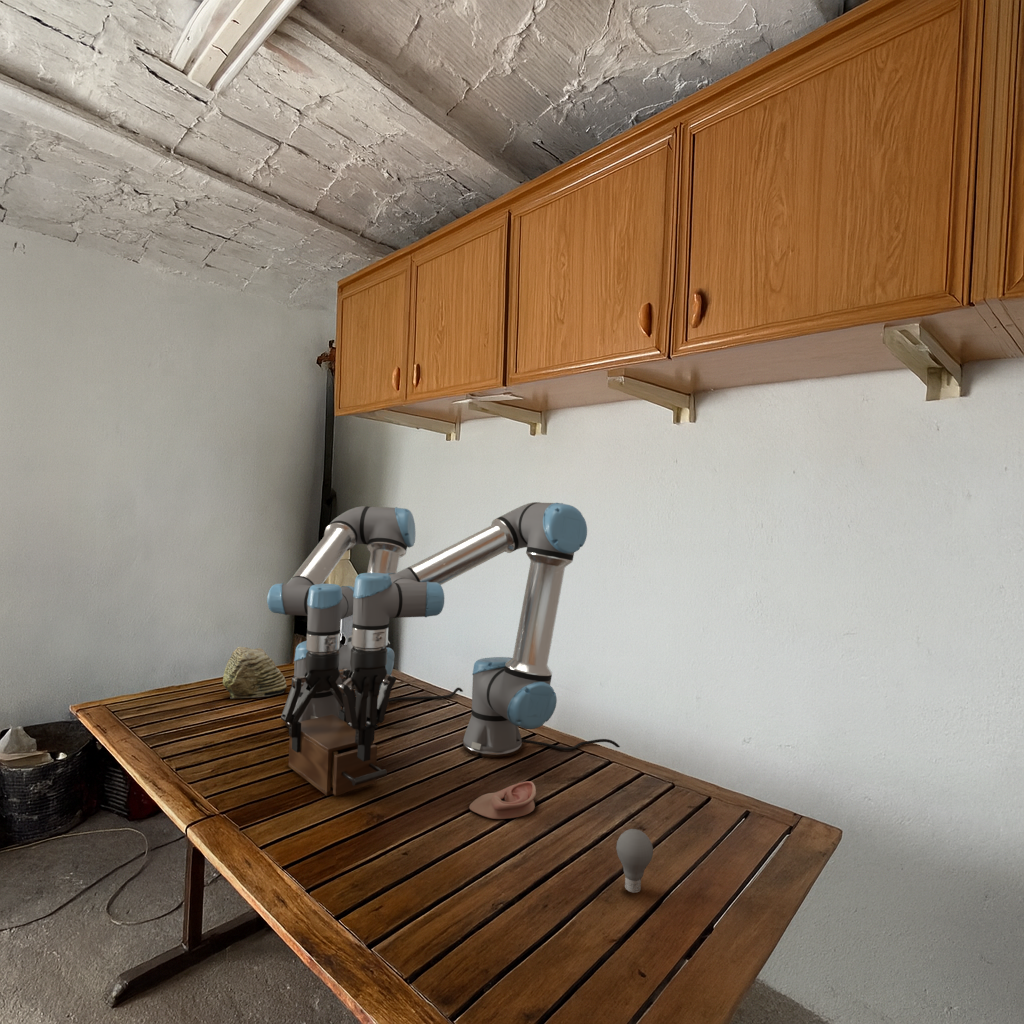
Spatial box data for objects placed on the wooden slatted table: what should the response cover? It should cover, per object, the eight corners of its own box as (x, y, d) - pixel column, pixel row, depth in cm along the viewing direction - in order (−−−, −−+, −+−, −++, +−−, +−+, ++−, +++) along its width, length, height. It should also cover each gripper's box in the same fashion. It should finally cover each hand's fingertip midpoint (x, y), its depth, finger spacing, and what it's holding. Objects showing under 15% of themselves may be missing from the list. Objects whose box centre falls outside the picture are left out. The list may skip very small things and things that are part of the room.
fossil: (218, 695, 195) (220, 647, 195) (278, 685, 208) (279, 640, 207) (228, 703, 189) (230, 653, 188) (289, 692, 201) (290, 645, 201)
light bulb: (610, 879, 108) (613, 822, 108) (644, 879, 109) (647, 822, 109) (619, 902, 102) (622, 840, 102) (655, 901, 103) (658, 840, 103)
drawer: (390, 792, 135) (392, 754, 135) (349, 806, 128) (351, 766, 128) (336, 756, 152) (337, 722, 152) (298, 767, 145) (299, 731, 145)
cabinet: (371, 782, 142) (373, 737, 141) (326, 796, 134) (328, 749, 134) (331, 754, 155) (332, 714, 155) (288, 766, 148) (289, 723, 148)
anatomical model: (465, 795, 128) (479, 772, 140) (464, 815, 128) (479, 790, 140) (530, 804, 126) (539, 780, 137) (529, 824, 126) (538, 798, 137)
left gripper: (281, 661, 137) (277, 762, 138) (375, 647, 153) (371, 737, 154) (267, 654, 143) (263, 751, 143) (359, 641, 159) (355, 728, 159)
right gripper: (350, 654, 126) (344, 772, 126) (405, 646, 135) (399, 757, 135) (332, 647, 131) (326, 760, 132) (386, 640, 140) (380, 745, 141)
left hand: (319, 744), depth 148 cm, fingers closed on cabinet, 11 cm apart
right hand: (363, 758), depth 133 cm, fingers closed
